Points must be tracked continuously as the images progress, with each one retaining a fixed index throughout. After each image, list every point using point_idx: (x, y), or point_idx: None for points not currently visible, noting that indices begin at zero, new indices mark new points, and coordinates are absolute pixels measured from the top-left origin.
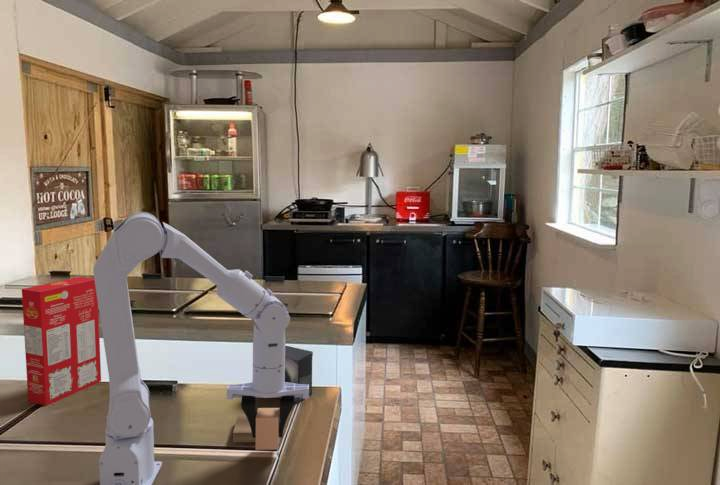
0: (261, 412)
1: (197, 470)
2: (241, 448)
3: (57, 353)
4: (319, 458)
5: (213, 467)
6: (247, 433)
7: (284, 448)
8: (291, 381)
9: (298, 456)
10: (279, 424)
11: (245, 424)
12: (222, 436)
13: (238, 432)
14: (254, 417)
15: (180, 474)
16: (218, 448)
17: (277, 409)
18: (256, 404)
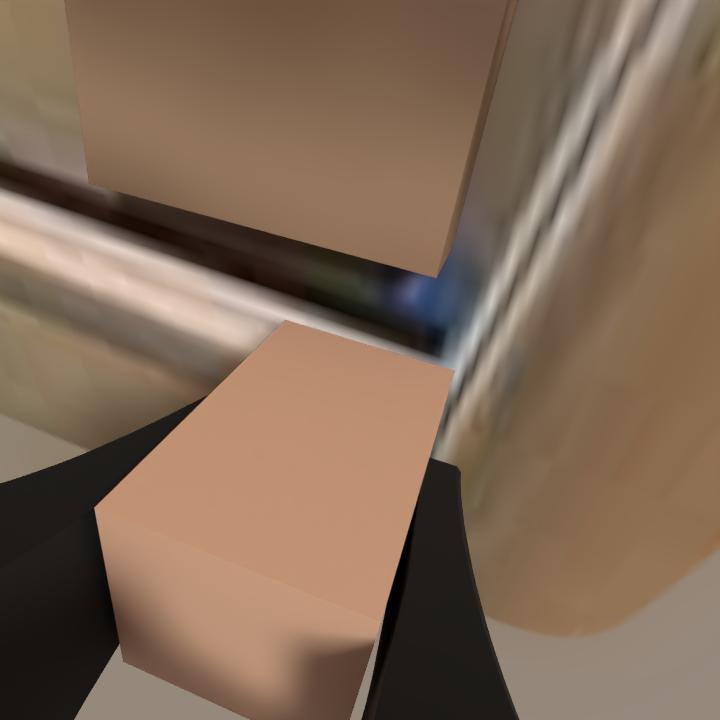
0: (155, 606)
1: (57, 394)
2: (213, 262)
3: None
4: (700, 545)
5: (113, 397)
6: (201, 211)
7: (500, 356)
8: None
9: (565, 475)
10: (376, 658)
11: (155, 27)
12: (54, 33)
13: (128, 191)
14: (109, 652)
15: (7, 396)
16: (82, 218)
17: (341, 638)
18: (21, 642)
